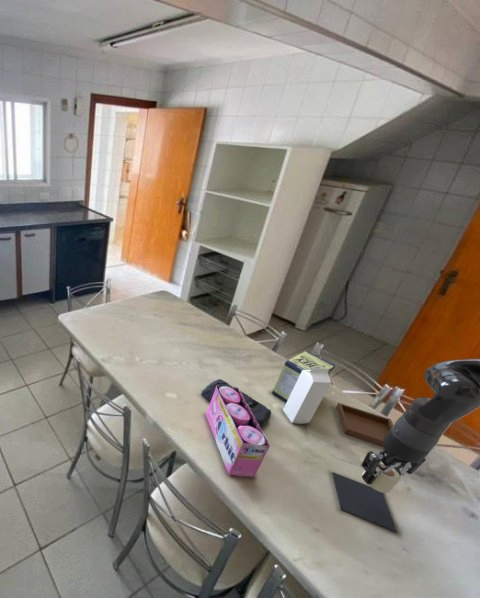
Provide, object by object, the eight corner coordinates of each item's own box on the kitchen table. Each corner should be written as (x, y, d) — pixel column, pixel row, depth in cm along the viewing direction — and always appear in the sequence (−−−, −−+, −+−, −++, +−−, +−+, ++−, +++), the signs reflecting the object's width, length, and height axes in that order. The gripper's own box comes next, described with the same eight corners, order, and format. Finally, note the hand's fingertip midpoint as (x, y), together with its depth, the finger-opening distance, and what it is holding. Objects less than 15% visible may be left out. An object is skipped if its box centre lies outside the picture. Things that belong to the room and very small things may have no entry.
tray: (386, 425, 116) (390, 419, 115) (400, 454, 105) (405, 448, 104) (334, 408, 122) (338, 402, 120) (342, 434, 111) (346, 428, 109)
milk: (282, 410, 119) (305, 361, 109) (298, 411, 119) (323, 362, 109) (292, 423, 114) (317, 373, 104) (309, 424, 114) (335, 374, 104)
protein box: (318, 397, 127) (336, 365, 120) (298, 411, 119) (315, 378, 112) (291, 380, 134) (306, 349, 127) (270, 393, 127) (285, 361, 120)
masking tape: (386, 478, 88) (395, 465, 86) (393, 497, 83) (404, 485, 81) (359, 468, 90) (368, 455, 88) (365, 486, 85) (374, 474, 83)
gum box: (203, 412, 115) (213, 382, 109) (226, 413, 115) (237, 384, 109) (228, 475, 94) (242, 443, 88) (255, 477, 94) (272, 445, 88)
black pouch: (220, 380, 131) (223, 370, 129) (274, 416, 116) (279, 406, 114) (196, 394, 123) (199, 384, 121) (252, 435, 108) (257, 425, 106)
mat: (381, 492, 93) (382, 491, 93) (396, 532, 83) (397, 531, 83) (332, 473, 97) (332, 472, 97) (340, 509, 88) (341, 508, 87)
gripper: (399, 451, 75) (364, 495, 82) (455, 450, 76) (415, 494, 84) (371, 424, 81) (341, 468, 89) (422, 424, 83) (388, 467, 90)
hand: (377, 480), depth 86 cm, fingers closed on masking tape, 6 cm apart
